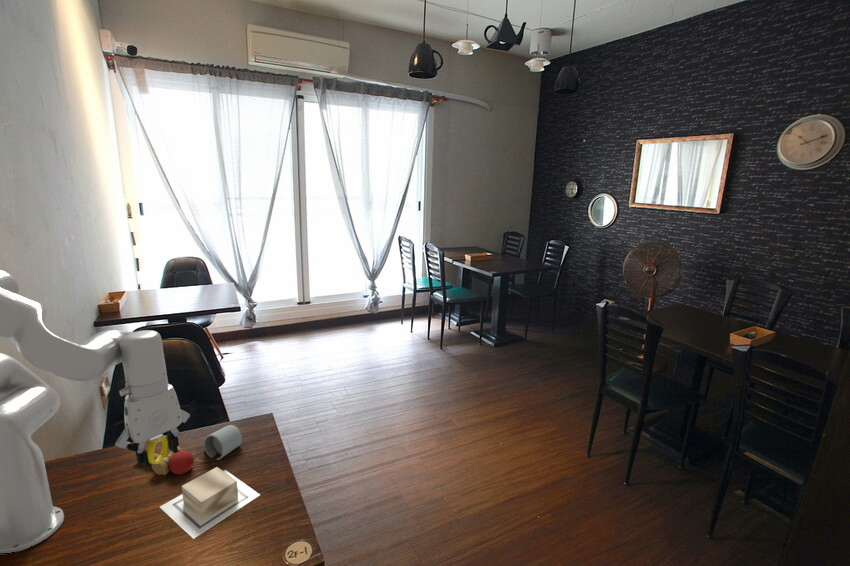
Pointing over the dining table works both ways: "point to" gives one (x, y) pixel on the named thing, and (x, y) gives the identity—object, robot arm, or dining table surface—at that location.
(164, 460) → the kendama
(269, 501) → the dining table surface
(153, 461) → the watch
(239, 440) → the grey hollow cylinder
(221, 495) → the birch block
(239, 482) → the mat
